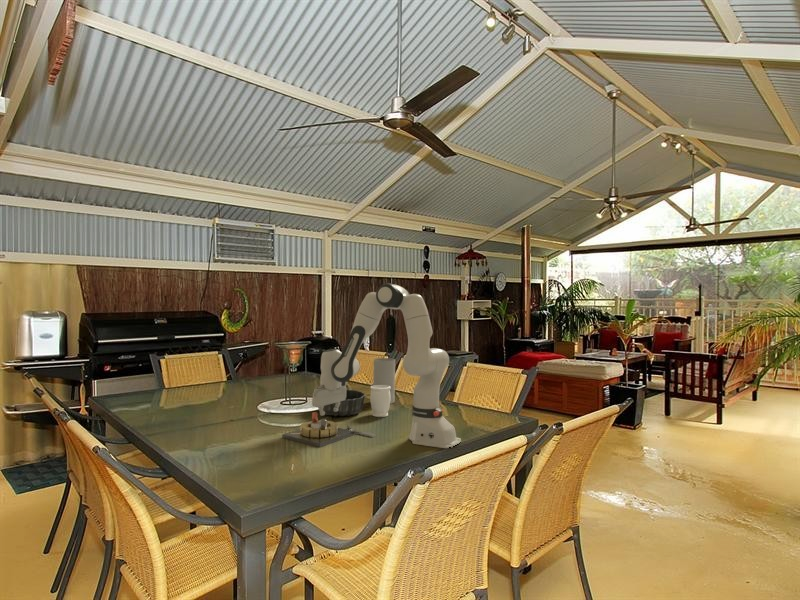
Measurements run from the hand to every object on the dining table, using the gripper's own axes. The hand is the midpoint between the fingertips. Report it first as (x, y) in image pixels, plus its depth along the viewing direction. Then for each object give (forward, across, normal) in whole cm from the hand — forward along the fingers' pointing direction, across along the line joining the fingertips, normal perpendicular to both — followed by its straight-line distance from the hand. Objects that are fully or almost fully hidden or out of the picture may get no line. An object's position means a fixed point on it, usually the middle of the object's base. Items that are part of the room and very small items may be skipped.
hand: (329, 413), depth 222 cm
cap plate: (+7, -13, -6) cm, 16 cm away
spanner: (+7, 0, -19) cm, 20 cm away
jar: (+7, +33, -6) cm, 34 cm away
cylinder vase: (+7, +59, +10) cm, 60 cm away
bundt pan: (+7, +25, +14) cm, 29 cm away
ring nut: (+5, -13, -6) cm, 15 cm away
